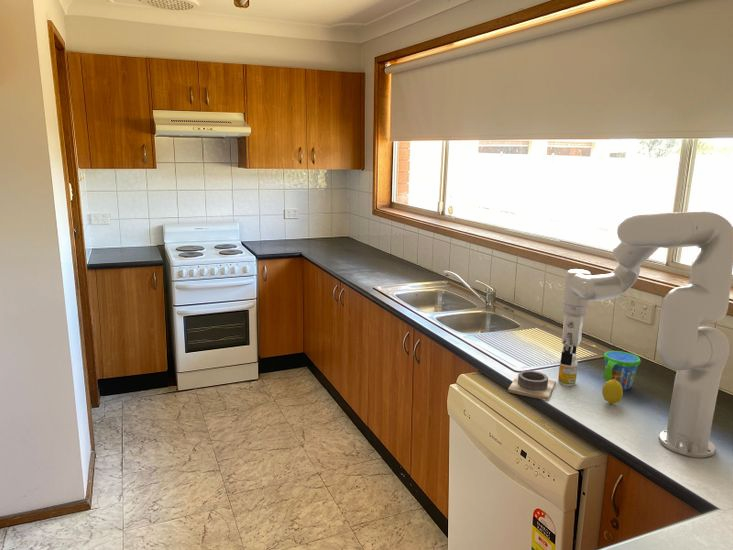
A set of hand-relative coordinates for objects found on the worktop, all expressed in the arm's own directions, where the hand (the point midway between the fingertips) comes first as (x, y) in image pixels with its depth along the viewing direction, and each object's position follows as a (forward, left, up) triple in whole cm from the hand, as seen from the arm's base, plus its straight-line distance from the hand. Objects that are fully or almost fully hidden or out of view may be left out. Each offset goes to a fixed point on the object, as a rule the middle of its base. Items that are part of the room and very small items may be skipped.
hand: (568, 359), depth 179 cm
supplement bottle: (0, 0, -8) cm, 8 cm away
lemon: (-10, -14, -8) cm, 19 cm away
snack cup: (+6, -15, -8) cm, 18 cm away
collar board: (-10, +9, -8) cm, 16 cm away
